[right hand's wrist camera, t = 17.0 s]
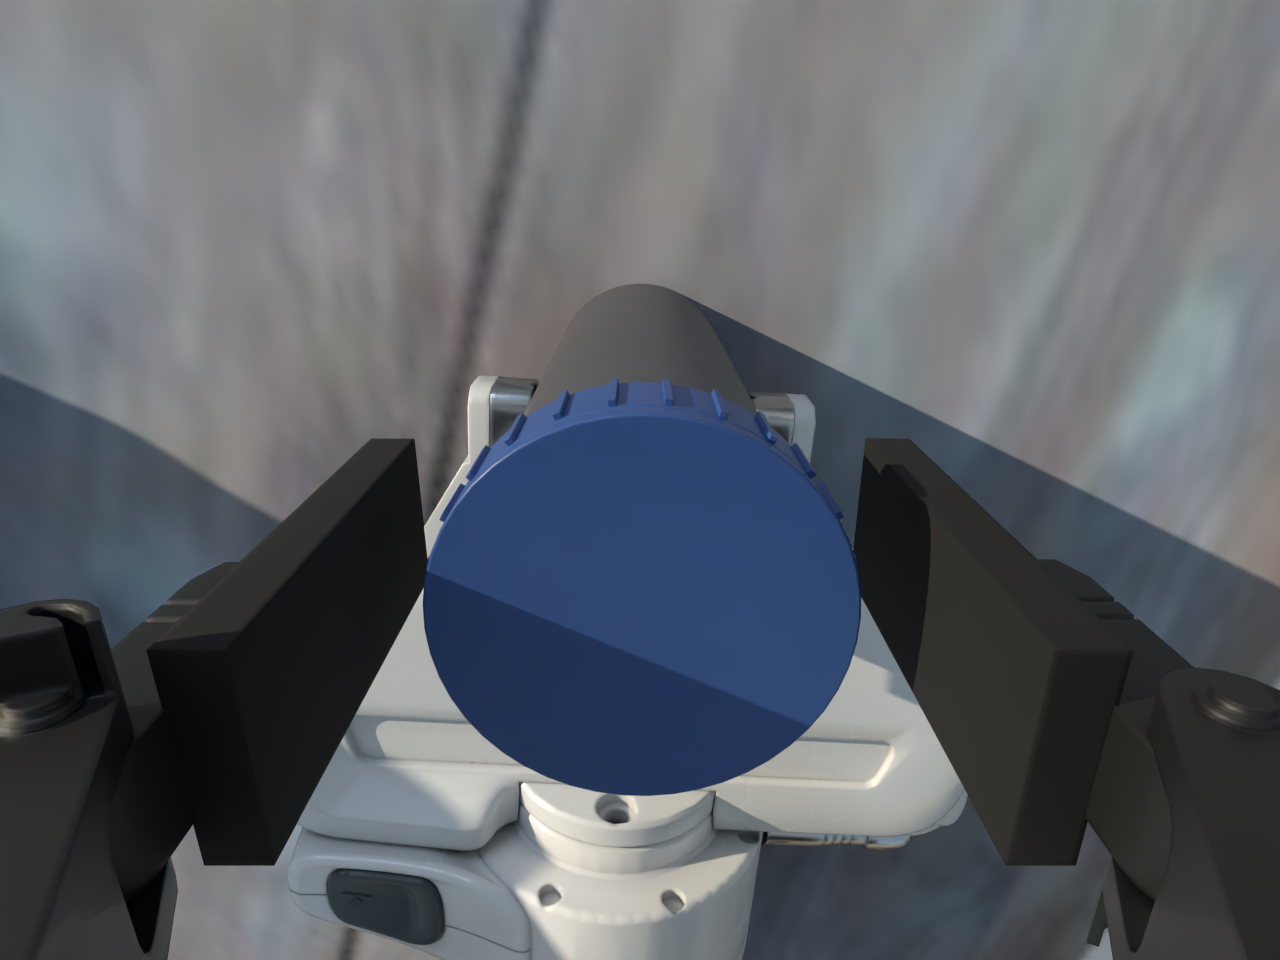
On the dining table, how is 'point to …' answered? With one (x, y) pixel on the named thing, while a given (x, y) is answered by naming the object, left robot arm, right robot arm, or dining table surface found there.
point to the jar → (640, 347)
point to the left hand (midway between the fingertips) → (641, 389)
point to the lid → (641, 591)
